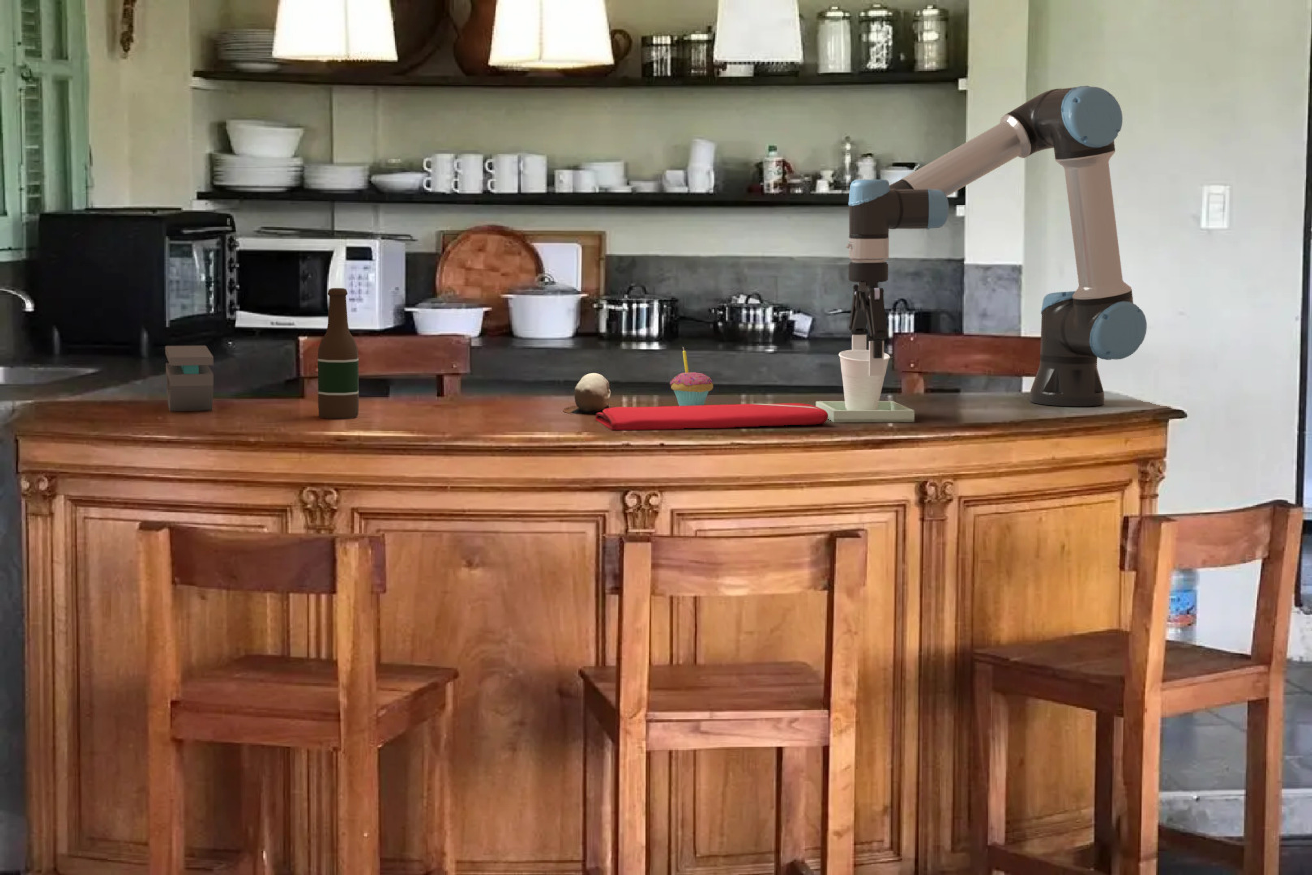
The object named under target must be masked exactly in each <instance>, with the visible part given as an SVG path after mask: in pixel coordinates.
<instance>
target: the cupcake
mask: <svg viewBox="0 0 1312 875" xmlns="http://www.w3.org/2000/svg"><path fill="white" fill-rule="evenodd" d="M682 350H683V351H682V357H683V358H682V359H683V365H684V371H685V372H682V373H679V374H677V375H675V376H674V377H673V378H672V379H671V380H670V381H669V385H670V388H671V390H673V392H674V394H675V396H676V400H677V403H678V406H699V405H705V401H706V399H707V396H708V394H709V392H711V391H712V390H713V388H714V384H713V380H712V379H711V378H710V376H708V375H706V374H705V373H703V372H697V371H696V372H695V371H689V365H688V356H687V351H686V350H685V348H684V346H682Z"/></svg>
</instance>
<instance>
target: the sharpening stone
mask: <svg viewBox="0 0 1312 875" xmlns="http://www.w3.org/2000/svg"><path fill="white" fill-rule="evenodd" d="M164 350H165V356H166V359H167V361H168V362H166V363H165V376H166V377H165V378H166V381H165V382H166V397H167V406H168V407H167V408H168V409H169V411H170V412H192V411H195V412H196V411H198V412H199V411H201V412H202V411H213V400H214V372H213V371H212V369H211V368H210V366H214V356H213V354H212V353H211V351H210V350H209V348H208V346H206V345H166V346H164Z"/></svg>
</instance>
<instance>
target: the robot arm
mask: <svg viewBox="0 0 1312 875" xmlns="http://www.w3.org/2000/svg"><path fill="white" fill-rule="evenodd" d="M1122 126H1123V112H1122V108H1121V106H1120V103H1119V101H1118V100H1117V99H1116V97H1115V96H1114V95H1113V94H1111V93H1110V92H1109V91H1108V90H1106V89H1104V88H1102V87H1098V86H1089V85H1080V86H1073V87H1066V88H1053V89H1050V90H1046V91H1044V92H1042V93H1039V94H1037V95H1036V96H1034V97H1033V98H1031V99H1030V100H1027V101H1026V102H1024V103H1022V104H1021V105H1019V106H1017V107H1016V108H1014V109H1013V110H1011V111H1009V112H1007V113H1005V114H1004V115H1002V116H1001V117H1000V121H999V123H998V124H997V125H995V126H993V127H991V128H989V129H987V130H986V131H984V132H982V133H980V134H978V135H976V137H973V138H971V139H970V140H968V141H967V142H965V143H962V144H961V145H959V146H958V147H955V148H953V149H952V150H950V151H949V152H946V153H945V154H943V155H941V156H939V157H937V158H936V159H934V160H933V161H931V162H929V163H927V164H925V165H924V166H921V167H920V168H918V169H917V170H914V171H913V172H911V173H909V174H907V175H906V176H904V177H902V178H901V179H899V180H897V181H895V182H893V183H891V184H890V182H889V181H888V180H887V179H854V180H853V181H851V183H850V186H849V193H848V194H849V195H848V196H849V197H848V202H847V203H848V216H849V218H848V219H849V220H848V227H849V228H848V230H849V232H848V233H849V234H848V238H849V240H848V242H849V243H846V245H845V246H846V247H845V248H846V249H849V250H848V259H850V260H851V261H850V262H849V263H848V280H849V282H851V283H858V284H853V286H852V288H853V291H852V292H853V293H852V303H851V311H850V316H849V318H850V319H849V323H848V329H849V331H850V333H851V334H852V335H851V350H867V342H868V350H869V376H883V375H884V353H885V340H886V339H887V338H888V336H889V335H888V328H887V320H886V317H887V316H886V310H885V301H884V293H885V292H884V291H885V290H884V288H883V287H879V283H884V282H887V281H888V280H889V263H888V261H887V262H886V260H888V259H889V255H890V254H889V253H890V251H889V250H890V247H889V246H890V245H889V244H890V243H889V241H890V238H889V237H890V235H889V233H890V230H896V229H899V230H921V229H923V230H924V229H925V230H930V229H940V228H943V226H944V225H945V224H946V222H947V220H948V217H949V213H950V211H949V210H950V209H949V208H950V207H949V206H950V205H949V204H950V203H949V200H948V196H950V195H951V194H953V193H955V192H958V190H961V189H962V188H964V187H966V186H968V185H969V184H972V183H973V182H975V181H977V180H979V179H980V178H982V177H983V176H985V175H988V174H989V173H990V172H992V171H995V170H996V169H998V168H1000V167H1001V166H1003V165H1005V164H1007V163H1009V162H1010V161H1012V160H1014V159H1016V158H1021V159H1025V158H1028V157H1029V156H1031V155H1033V154H1035V153H1038V152H1040V151H1043V150H1048V149H1053V152H1054V159H1055V162H1057V163H1058V164H1059V165H1061V166H1062V167H1063V169H1064V176H1065V184H1066V192H1067V201H1068V208H1069V209H1068V210H1069V217H1070V224H1071V232H1072V241H1073V248H1074V249H1073V251H1074V256H1075V258H1074V259H1075V264H1076V265H1075V266H1076V273H1077V280H1078V281H1077V282H1078V288H1077V289H1076V290H1074V291H1059V292H1051V293H1047V294H1046V295H1045V296H1044V297H1043V299H1042V305H1041V311H1040V314H1041V320H1040V321H1041V328H1040V349H1039V350H1040V353H1039V354H1040V355H1039V357H1040V358H1039V365H1038V369H1037V372H1036V375H1035V377H1034V380H1033V383H1032V386H1031V388H1030V392H1029V402H1030V403H1033V404H1038V405H1047V406H1048V405H1049V406H1057V407H1058V406H1060V407H1062V406H1063V407H1094V406H1095V407H1096V406H1102V405H1104V404H1105V391H1104V388H1103V384H1102V380H1101V378H1100V377H1101V376H1100V374H1099V370H1098V359H1100V360H1106V361H1111V360H1117V361H1118V360H1123V359H1125V358H1128V357H1131V355H1134V354H1135V352H1136V351H1137V350H1138V349H1139V348H1140V346H1141V345H1142V344H1143V342H1144V340H1145V338H1146V335H1147V331H1148V330H1147V324H1148V323H1147V318H1146V315H1145V313H1144V312H1143V310H1142V309H1141V308H1140V307H1139V306H1138V305H1137V304H1136V303H1134V296H1133V289H1132V287H1131V286H1130V285H1128V283H1126V282H1124V280H1123V273H1122V272H1123V271H1122V262H1121V256H1120V247H1119V239H1118V238H1119V237H1118V229H1117V224H1116V223H1117V221H1116V213H1115V205H1114V197H1113V188H1112V179H1111V172H1110V165H1109V164H1110V163H1109V161H1110V160H1111V158H1112V157H1113V155H1114V154H1115V152H1116V148H1115V146H1116V145H1115V139H1117V137H1118V136H1119V135H1118V134H1119V133H1120V132H1121V130H1122ZM867 325H868V329H867ZM867 335H868V336H867Z"/></svg>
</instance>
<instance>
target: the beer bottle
mask: <svg viewBox="0 0 1312 875" xmlns="http://www.w3.org/2000/svg"><path fill="white" fill-rule="evenodd" d="M327 295H328V297H329V298H328V300H329V301H328V312H327V313H328V314H327V316H328V317H327V327H326V332H325V334H324V336H323V338H322V339H321V340H320V344H319V346H318V351H317V352H318V353H317V402H318V404H317V405H318V408H317V409H318V417H319V419H320V418H321V419H328V420H347V419H349V420H350V419H356V418H357V417H358V415H359V411H360V410H359V406H360V402H359V401H360V400H359V399H360V398H359V397H360V392H359V390H360V388H359V383H360V382H359V378H360V376H359V349H358V346H357V342H356V339H355V338H354V337H353V335H352V334H351V332H350V328H349V323H348V322H349V320H348V306H347V295H348V291H347V288H344V287H336V288H335V287H332V288H329V289H328V291H327Z"/></svg>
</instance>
